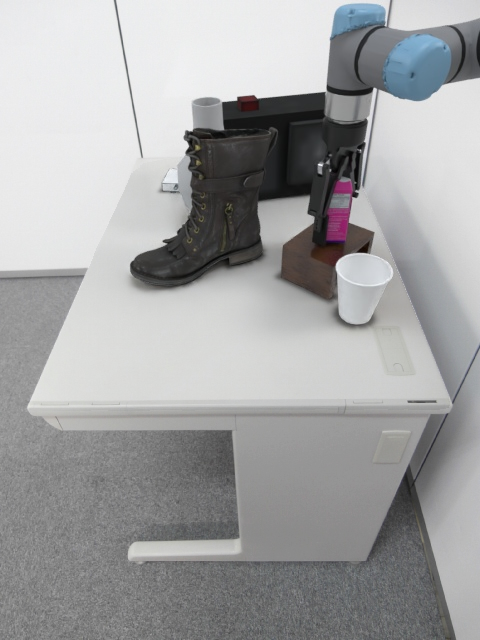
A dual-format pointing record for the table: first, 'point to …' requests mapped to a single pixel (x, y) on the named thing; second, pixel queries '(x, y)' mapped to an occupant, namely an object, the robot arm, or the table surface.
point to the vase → (204, 116)
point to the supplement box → (339, 211)
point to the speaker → (284, 138)
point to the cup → (361, 285)
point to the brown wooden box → (320, 258)
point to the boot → (214, 207)
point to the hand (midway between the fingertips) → (330, 234)
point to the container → (170, 181)
